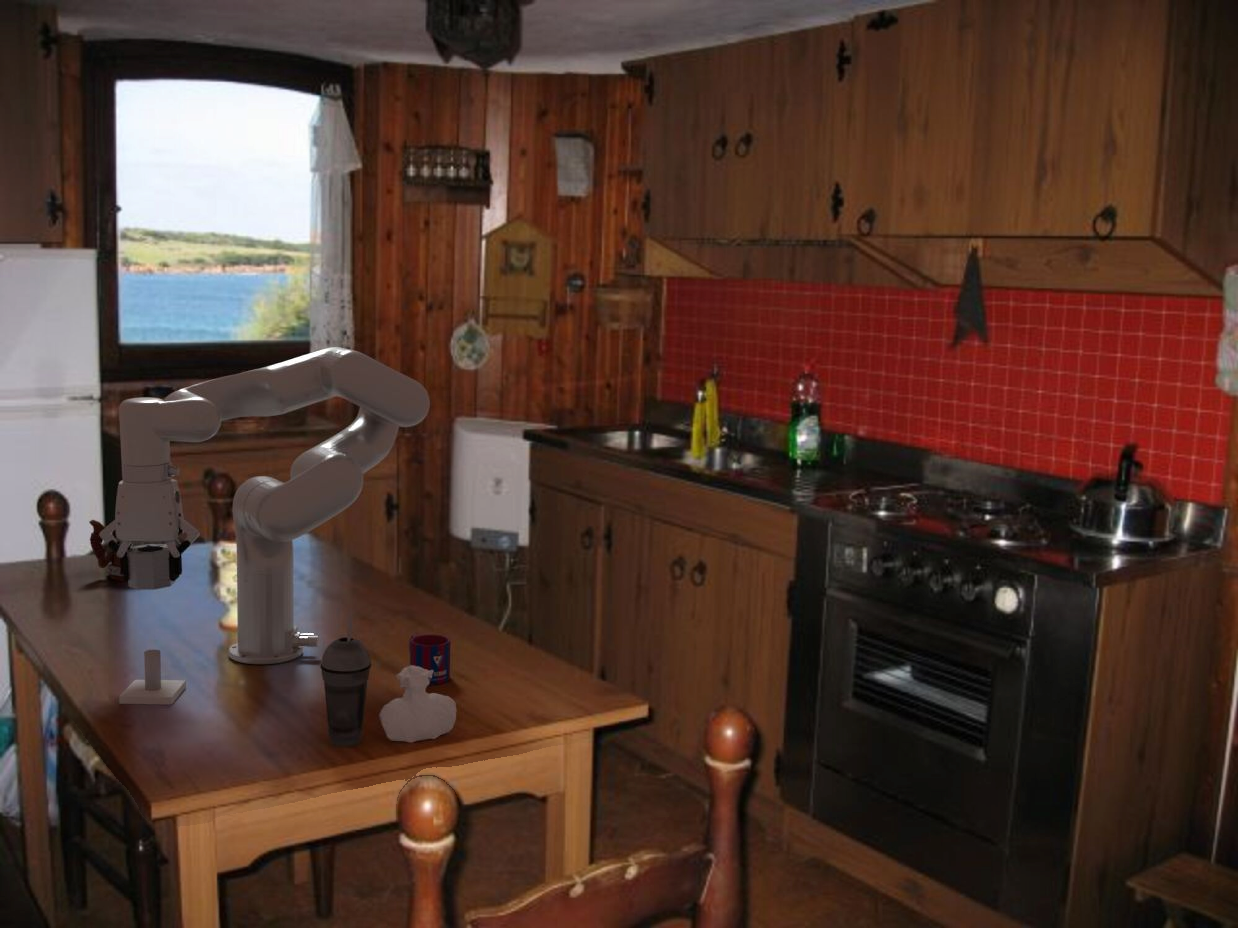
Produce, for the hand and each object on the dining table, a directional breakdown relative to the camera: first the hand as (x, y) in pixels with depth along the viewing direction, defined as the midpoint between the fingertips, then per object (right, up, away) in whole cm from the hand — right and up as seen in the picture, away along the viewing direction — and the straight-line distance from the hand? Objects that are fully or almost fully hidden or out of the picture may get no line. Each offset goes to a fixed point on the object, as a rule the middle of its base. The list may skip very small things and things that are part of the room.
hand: (151, 578), depth 214 cm
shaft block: (+4, -18, -9) cm, 20 cm away
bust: (+47, -22, -21) cm, 56 cm away
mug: (-27, -5, +62) cm, 68 cm away
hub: (0, -1, 0) cm, 1 cm away
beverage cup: (+38, -22, -25) cm, 50 cm away
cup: (+45, -17, +5) cm, 48 cm away
